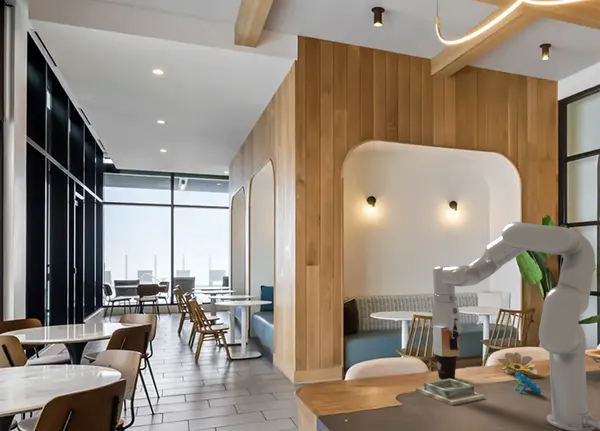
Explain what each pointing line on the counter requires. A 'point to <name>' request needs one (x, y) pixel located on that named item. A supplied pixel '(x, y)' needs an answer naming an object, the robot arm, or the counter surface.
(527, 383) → the gear
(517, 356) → the decorative flower
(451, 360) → the coffee mug
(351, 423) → the counter surface
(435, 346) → the small box
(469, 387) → the jig
